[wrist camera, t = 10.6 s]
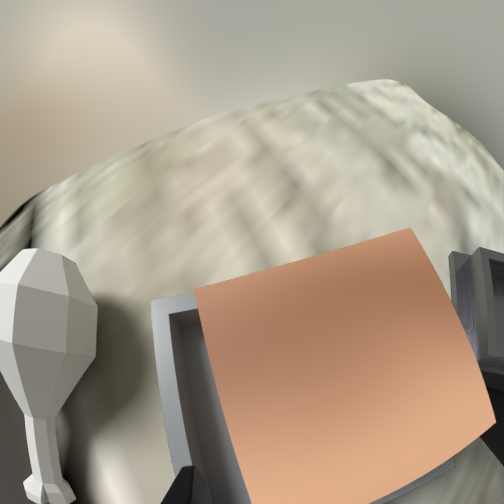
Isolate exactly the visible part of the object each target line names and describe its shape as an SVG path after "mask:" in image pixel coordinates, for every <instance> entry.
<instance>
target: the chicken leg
mask: <svg viewBox="0 0 504 504" xmlns="http://www.w3.org/2000/svg"><path fill="white" fill-rule="evenodd" d="M97 314H98V306H97V304H96V303H95V301H94V299H93V297H92V295H91V293H90V291H89V289H88V287H87V285H86V283H85V281H84V279H83V277H82V275H81V273H80V271H79V269H78V267H77V265H76V263H75V262H73V261H71V260H69V259H68V258H66V257H64V256H63V255H61V254H57V253H53V252H49V251H46V250H42V249H38V248H36V249H24V250H22V251H21V252H20V253H19V254H18V255H17V256H16V257H15V258H14V259H13V260H12V261H11V262H10V263H9V264H8V265H7V266H6V267H5V268H4V269H3V270H2V271H1V272H0V371H1V373H2V375H3V377H4V379H5V381H6V383H7V385H8V386H9V388H10V390H11V392H12V394H13V396H14V398H15V399H16V401H17V403H18V405H19V406H20V408H21V410H22V411H23V413H24V415H25V426H26V435H27V442H28V449H29V455H30V461H31V466H32V472H33V474H32V475H31V476H30V477H28V478H27V479H26V480H25V481H24V482H23V484H24V487H25V491H26V494H27V497H28V499H30V500H32V501H33V502H35V503H37V504H45V503H46V502H48V501H49V502H50V504H70V503H72V502H73V501H74V500H76V497H75V495H74V493H73V491H72V489H71V487H70V485H69V483H68V482H67V481H66V480H65V479H64V478H62V474H61V468H60V462H59V455H58V448H57V440H56V431H55V419H54V418H55V417H56V415H57V414H58V412H59V411H60V409H61V407H62V406H63V404H64V403H65V401H66V400H67V398H68V397H69V395H70V394H71V392H72V390H73V389H74V387H75V386H76V384H77V383H78V381H79V380H80V379H81V377H82V376H83V374H84V373H85V371H86V370H87V368H88V367H89V365H90V364H91V362H92V361H93V360H94V358H95V357H96V333H97Z"/></svg>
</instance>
